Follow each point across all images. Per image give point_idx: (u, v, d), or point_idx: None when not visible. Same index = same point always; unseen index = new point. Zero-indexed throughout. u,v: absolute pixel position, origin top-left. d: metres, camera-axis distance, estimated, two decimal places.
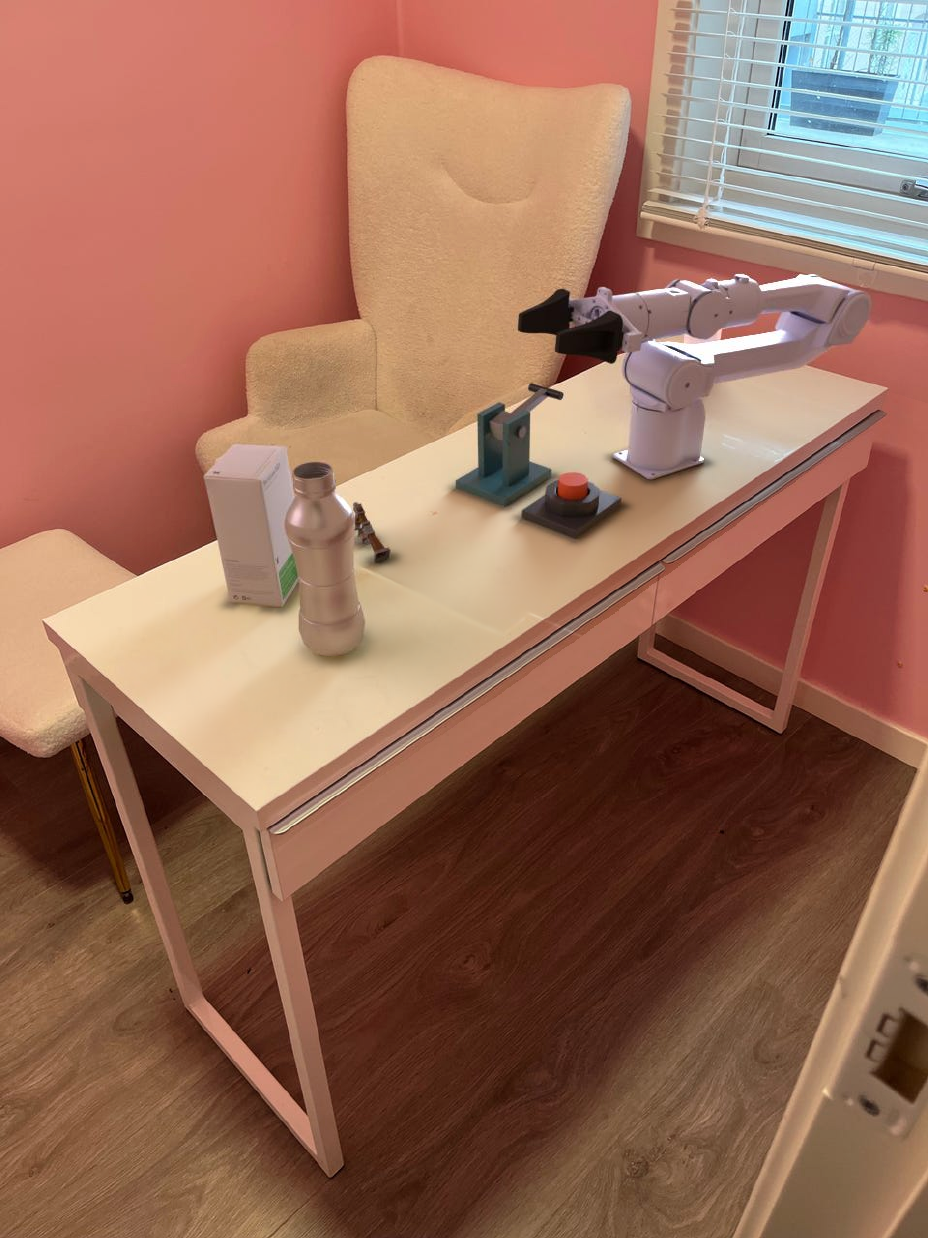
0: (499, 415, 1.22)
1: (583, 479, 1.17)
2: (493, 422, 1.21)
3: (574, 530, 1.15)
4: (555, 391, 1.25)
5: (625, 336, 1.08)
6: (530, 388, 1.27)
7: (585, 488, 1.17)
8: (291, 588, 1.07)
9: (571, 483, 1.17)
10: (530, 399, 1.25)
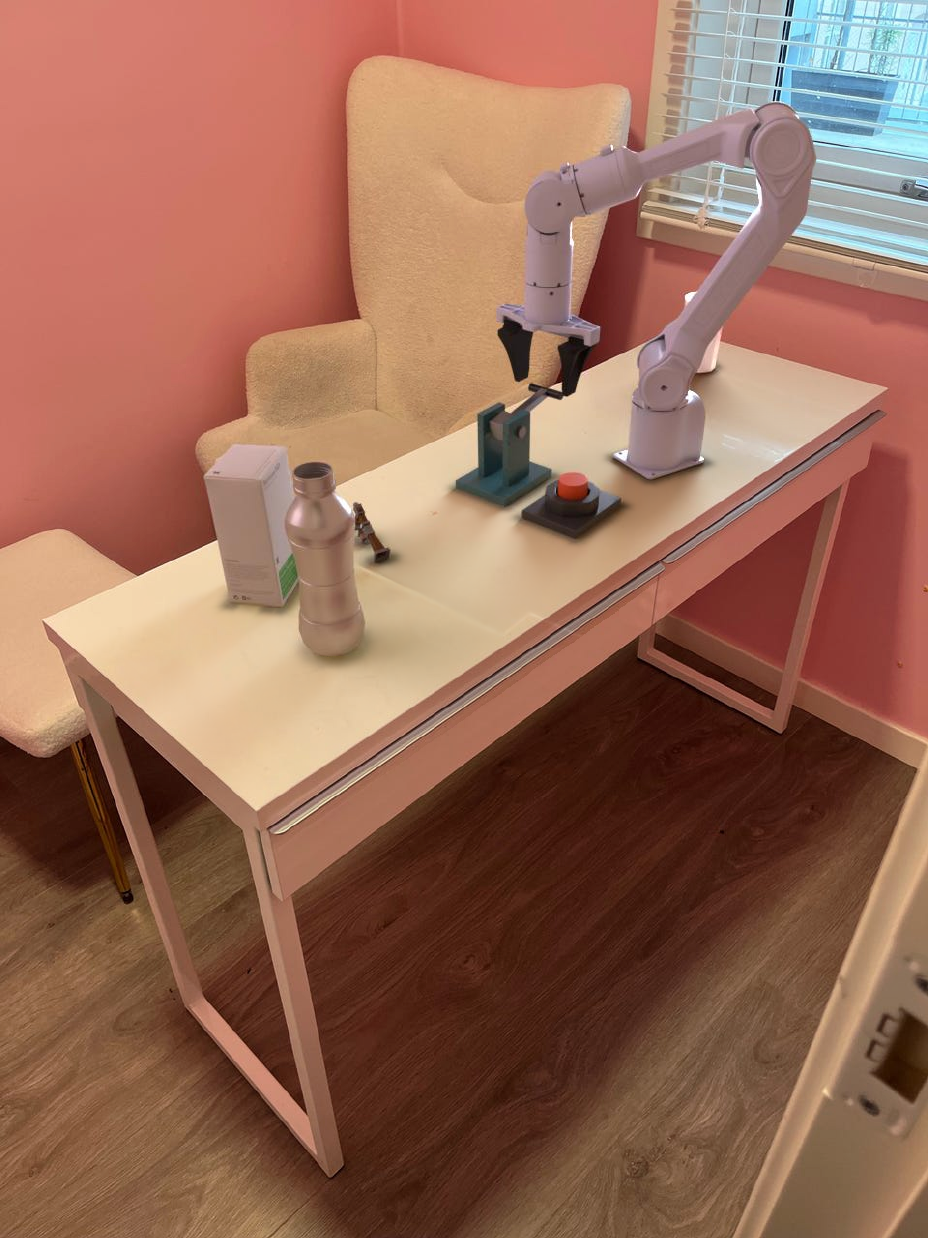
0: (499, 415, 1.22)
1: (583, 479, 1.17)
2: (493, 422, 1.21)
3: (574, 530, 1.15)
4: (555, 391, 1.25)
5: None
6: (530, 388, 1.27)
7: (585, 488, 1.17)
8: (291, 588, 1.07)
9: (571, 483, 1.17)
10: (530, 399, 1.25)
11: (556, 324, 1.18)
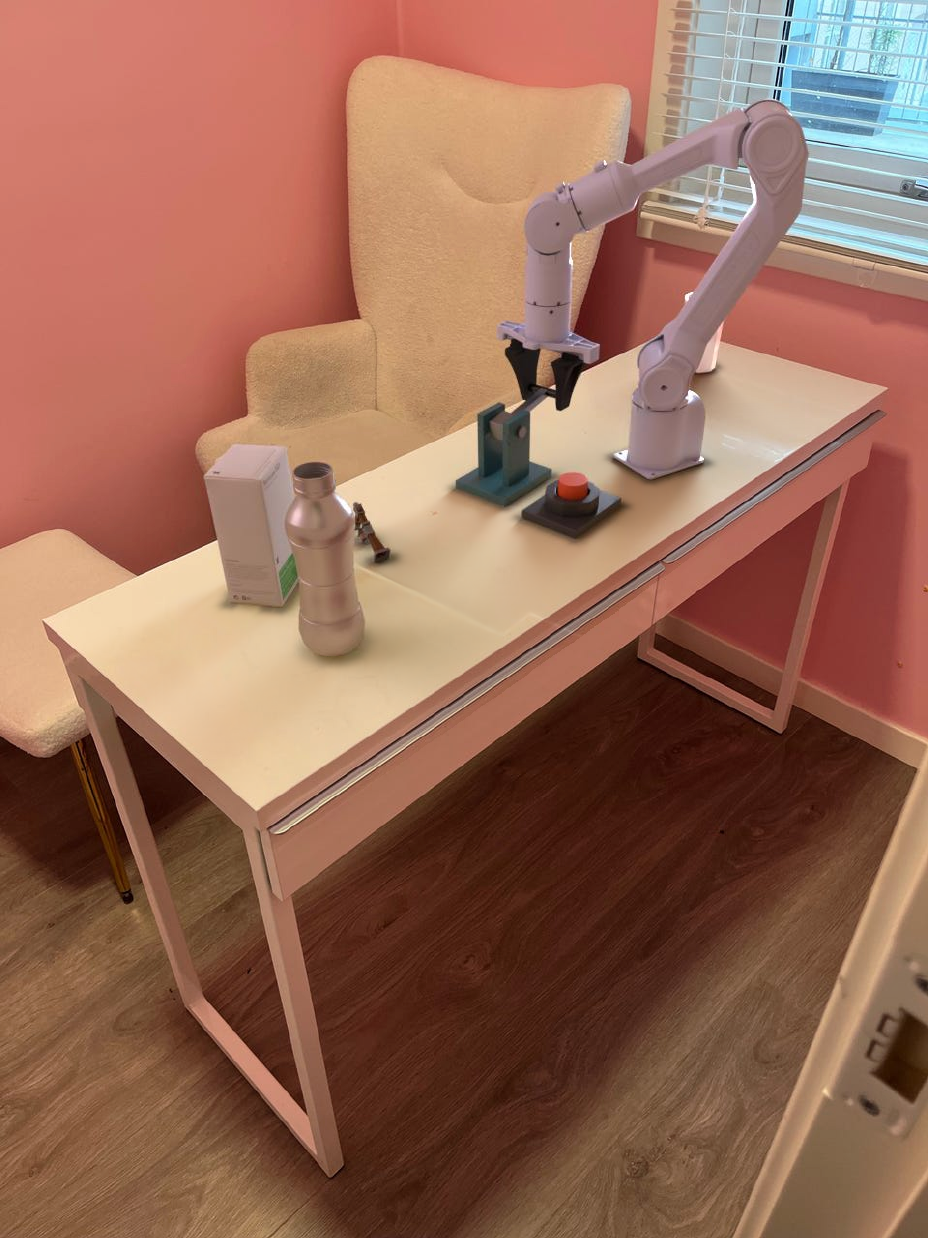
0: (499, 415, 1.22)
1: (583, 479, 1.17)
2: (493, 422, 1.21)
3: (574, 530, 1.15)
4: None
5: None
6: (530, 388, 1.27)
7: (585, 488, 1.17)
8: (291, 588, 1.07)
9: (571, 483, 1.17)
10: (530, 399, 1.25)
11: (556, 342, 1.20)
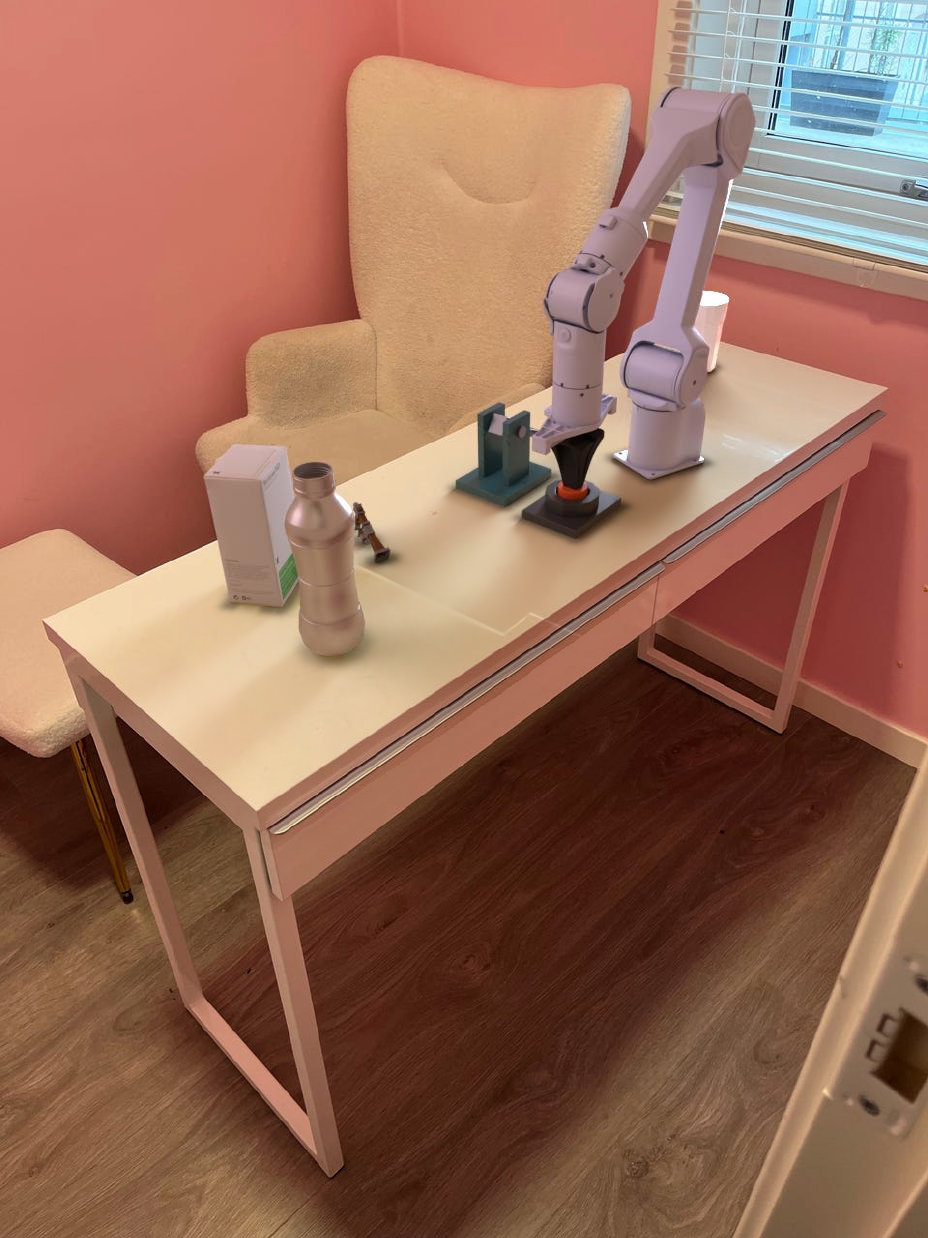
0: None
1: (583, 485, 1.18)
2: (498, 414, 1.21)
3: (574, 530, 1.15)
4: None
5: None
6: None
7: (585, 495, 1.18)
8: (291, 588, 1.07)
9: (570, 490, 1.17)
10: None
11: (552, 419, 1.12)
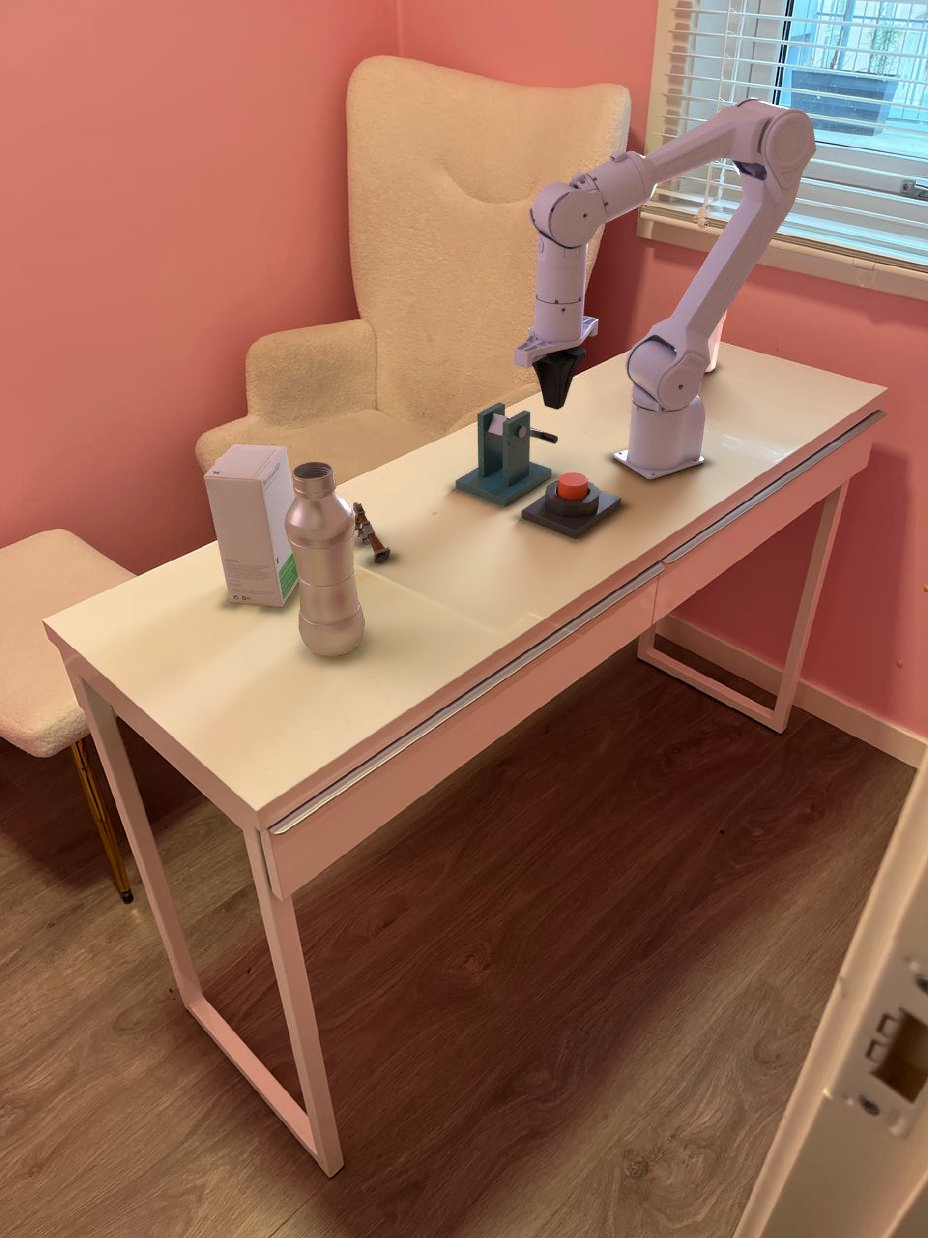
0: None
1: (583, 479, 1.17)
2: (498, 414, 1.21)
3: (574, 530, 1.15)
4: (551, 434, 1.28)
5: None
6: None
7: (585, 488, 1.17)
8: (291, 588, 1.07)
9: (571, 483, 1.17)
10: None
11: (534, 336, 1.15)
